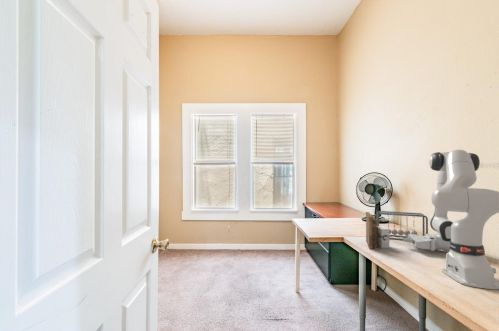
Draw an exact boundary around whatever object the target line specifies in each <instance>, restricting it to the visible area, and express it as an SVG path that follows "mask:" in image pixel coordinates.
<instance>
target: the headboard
mask: <svg viewBox="0 0 499 331" xmlns="http://www.w3.org/2000/svg"><path fill="white" fill-rule="evenodd" d="M365 242H366V244H367V247H368V249H369V250H373V248H374V249H377V247H378V245H377V221H376V217H375V216H374V215H373V214H371V213H370V212H368V211H365Z"/></svg>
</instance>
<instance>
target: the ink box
mask: <svg viewBox="0 0 499 331" xmlns="http://www.w3.org/2000/svg"><path fill="white" fill-rule="evenodd" d="M389 229H390V227H389V228H388V227H386V226H384V225H379V226H377V247H379V248H380V249H390V239H389V238H390V236H389V235H390V234H389Z"/></svg>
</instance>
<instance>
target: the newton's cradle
mask: <svg viewBox="0 0 499 331" xmlns="http://www.w3.org/2000/svg"><path fill="white" fill-rule="evenodd" d="M381 215H384V216H385V215H386V216H399V217H402V216H403V217H404V216H405V217H406V226H408V217H418V218H422V236H425V234H429V218H428V217H427V215H424V213H421V212H406V211H390V210H389V211H387V210H379V211H377V212H376V217H375V218H376V221H377V226H380V216H381ZM399 220H400V222H399V223H400V226H399V227H400V228H402V218H399ZM389 223H390V219H387V224H388V225H387V226H388V227H387V228H389V240H396V241H403V238H408V234H416V235H418V232H417V231H416V230H412V231H409V230H408V229H406V230H402V229H399V230H397V229H396V225H393V226H394V227H393V229H392V230H391V229H390V227H389ZM412 223H413V224H412V225H413V226H415V221H413V222H412ZM392 236H394V237H392Z"/></svg>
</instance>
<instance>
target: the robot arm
mask: <svg viewBox="0 0 499 331" xmlns="http://www.w3.org/2000/svg"><path fill="white" fill-rule="evenodd" d="M480 164H481V160H480V157H479V155H478V154H476V153H472V152H467V151H466V150H463V149H453V150H452V151H445V152H443V151H442V152H439V151H437V152H434V153H432V154H431V155H430V157H429V159H428V165H429V167H430V169H431V170H432V171H435V172H437V173H438V174H437V180H436V189H434V191H433V192H432V194H431V199H430V200H431V203H432V205H433V206H434V213H433V215H432V217H431V219H430V222H429V225H430V227H431V229H432V230H433V231H434V232H436V234H434V233H428V234H426V233H425V236H423V234H422V235H421V234H417V235H416V234H411V233H410V234H408V238H404V237H402V239H403V240H402V241H403V242H404V243H409V244H413V246H414V247H415V248H418V249H422V250H429V251H430V252H435V251H439V250H440V251H445V252H447V253H446V254H445V268H442V269H441V272H442V273H443V274H445V275H446V276H448V277H450V278H451V279H453V280H454V281H456V282H457V283H459V284H461V285H464V286H467V287H474V288H478V289H487V290H499V281H498V280H497V278H495V274H497V269H496V267H492V266H491V262H490V261H488V259H487V257H486V256H485V255H486V252H485V246H484V245H483V233H484V227H485V226H486V223H487V222H488V220H489V219H490V218H491V217H493V216H494V215H496V214H499V191H498V190H494V189H488V188H475V187H474V188H472V186H473V185H475V183H476V182H477V180H478V178H477V177H478V176H477V173H476V171H478V170H479V168H480ZM448 212H452V213H453V212H454V213H455V212H456V213H466V216H465V217H463V218H460V219H457V220H456V221H451V220H449V218H448Z"/></svg>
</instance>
